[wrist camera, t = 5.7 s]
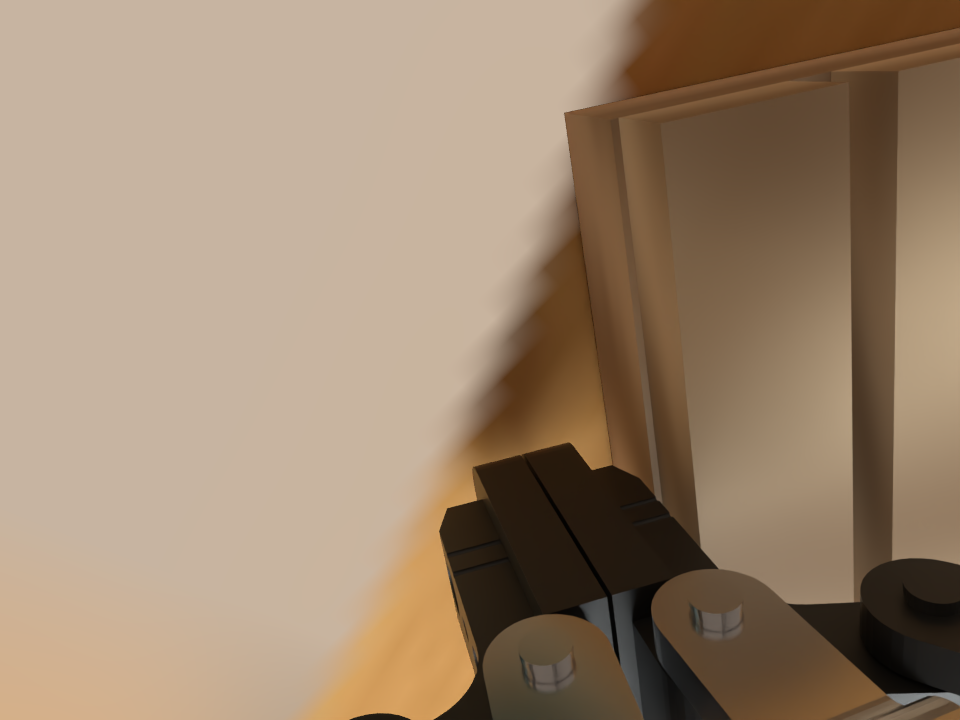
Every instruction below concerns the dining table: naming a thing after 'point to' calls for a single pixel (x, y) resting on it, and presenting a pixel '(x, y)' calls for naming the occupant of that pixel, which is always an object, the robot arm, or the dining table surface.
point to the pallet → (786, 308)
